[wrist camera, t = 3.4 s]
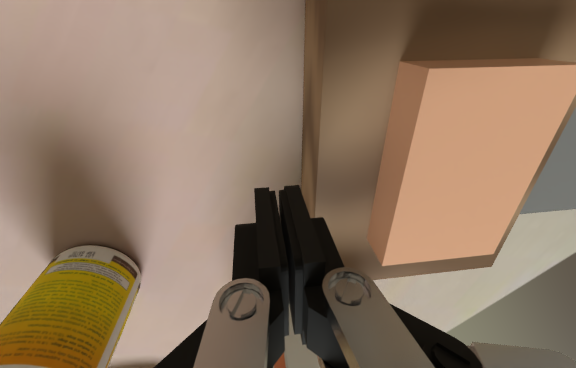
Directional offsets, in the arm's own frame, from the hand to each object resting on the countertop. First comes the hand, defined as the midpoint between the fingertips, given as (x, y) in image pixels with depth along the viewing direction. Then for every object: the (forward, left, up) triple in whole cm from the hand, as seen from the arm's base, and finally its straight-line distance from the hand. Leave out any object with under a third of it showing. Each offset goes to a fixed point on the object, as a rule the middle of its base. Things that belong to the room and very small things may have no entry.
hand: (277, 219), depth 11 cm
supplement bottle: (+8, -12, -7) cm, 16 cm away
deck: (-1, +8, -7) cm, 10 cm away
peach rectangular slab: (-1, +8, -3) cm, 8 cm away
